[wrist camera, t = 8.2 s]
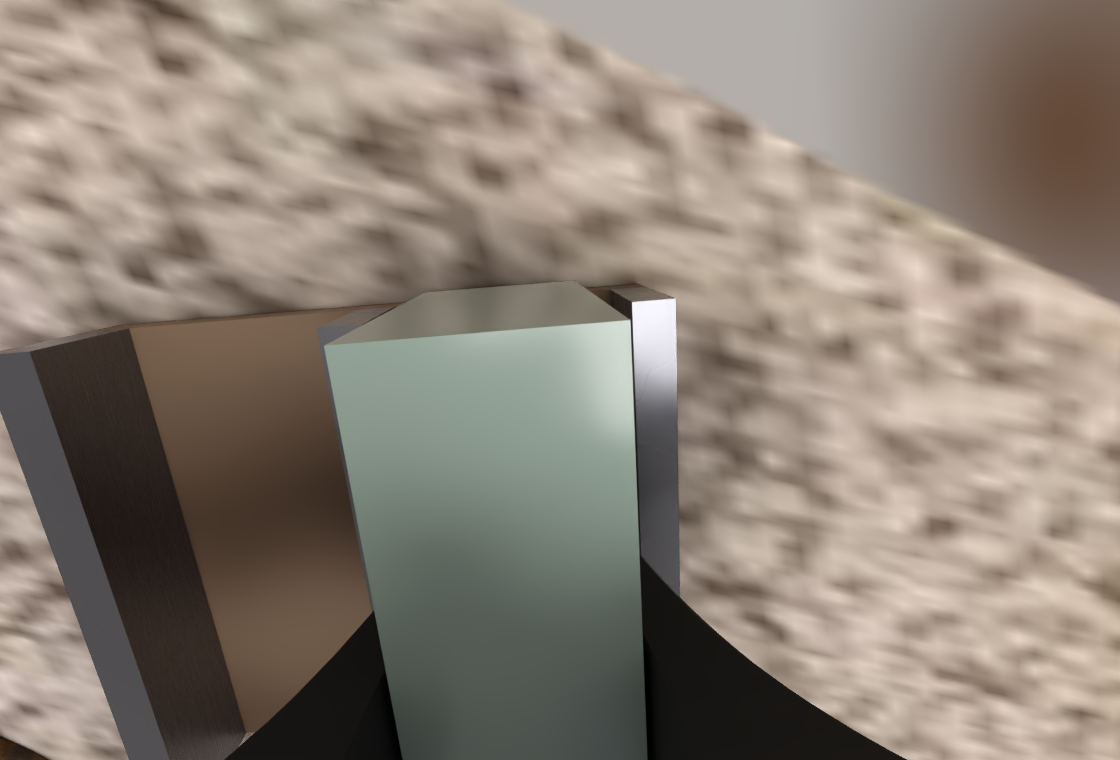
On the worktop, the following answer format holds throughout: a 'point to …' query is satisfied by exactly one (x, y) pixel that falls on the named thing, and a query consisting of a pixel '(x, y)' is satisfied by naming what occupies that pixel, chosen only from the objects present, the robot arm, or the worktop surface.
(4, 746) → the can opener
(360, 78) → the worktop surface
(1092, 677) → the worktop surface
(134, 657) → the rack
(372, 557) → the tall sage green block
